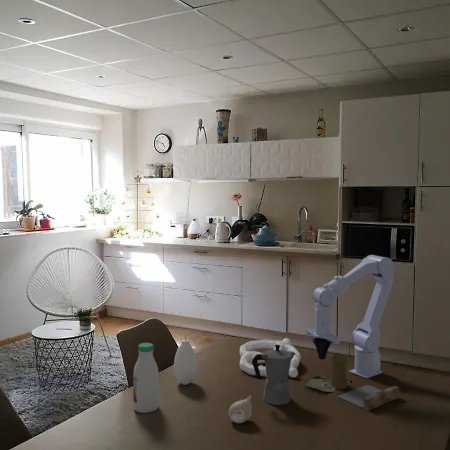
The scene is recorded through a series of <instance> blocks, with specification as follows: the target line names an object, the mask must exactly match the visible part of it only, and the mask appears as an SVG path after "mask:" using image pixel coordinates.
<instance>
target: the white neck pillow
mask: <svg viewBox="0 0 450 450" xmlns="http://www.w3.org/2000/svg"><path fill="white" fill-rule="evenodd" d="M291 344H292V343H291V340H290V339H289V338H288V337H285V338H283V340H279V339H277V340H274V339H268V338H266V339H263V338H261V339H256V340H251V341H247V342H246V343H244V344H242V345H240V347H239V356H240V360H239V368H240V370H242V371H243V372H245V373H247V374H248V375H250V376H256V373H255V370H254V367H253V364H252V360H253V358H254V357H255V356H256V355H257V354H263V353H264V352H259V351H255V350H259V349H260V350H261V349H270V350H271V349H272V350H276V348H275V345H280V348H279V350H285V351H292V352H294V353H296V354H295V355H294V357H293V358H292V360H291V363H290V369H289V375H288V377H290V378H293V379H294V378H297V377H298V375H299V371H298V369H297V368H298V367H299V364H300V362H301V361H300V360H301V358H302V355H301V354H300V352H299V351H298V350H297V349H296V347H294V345H291ZM257 363H258V364H260V365H258V368H259V370H260V376H264V377H266V378H267V374H266V367H265V366H264V365H263V364H261V363H264V364H265V360H258V361H257Z"/></svg>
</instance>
